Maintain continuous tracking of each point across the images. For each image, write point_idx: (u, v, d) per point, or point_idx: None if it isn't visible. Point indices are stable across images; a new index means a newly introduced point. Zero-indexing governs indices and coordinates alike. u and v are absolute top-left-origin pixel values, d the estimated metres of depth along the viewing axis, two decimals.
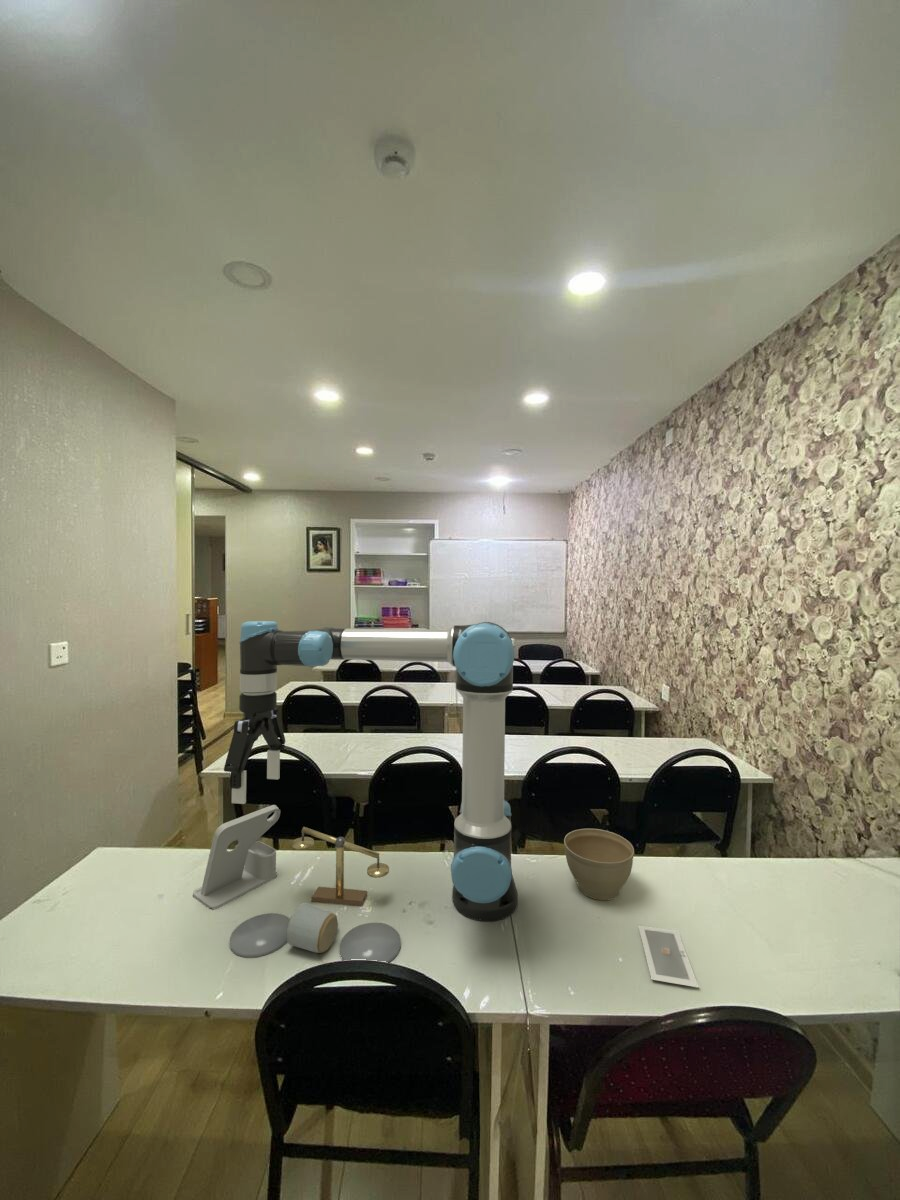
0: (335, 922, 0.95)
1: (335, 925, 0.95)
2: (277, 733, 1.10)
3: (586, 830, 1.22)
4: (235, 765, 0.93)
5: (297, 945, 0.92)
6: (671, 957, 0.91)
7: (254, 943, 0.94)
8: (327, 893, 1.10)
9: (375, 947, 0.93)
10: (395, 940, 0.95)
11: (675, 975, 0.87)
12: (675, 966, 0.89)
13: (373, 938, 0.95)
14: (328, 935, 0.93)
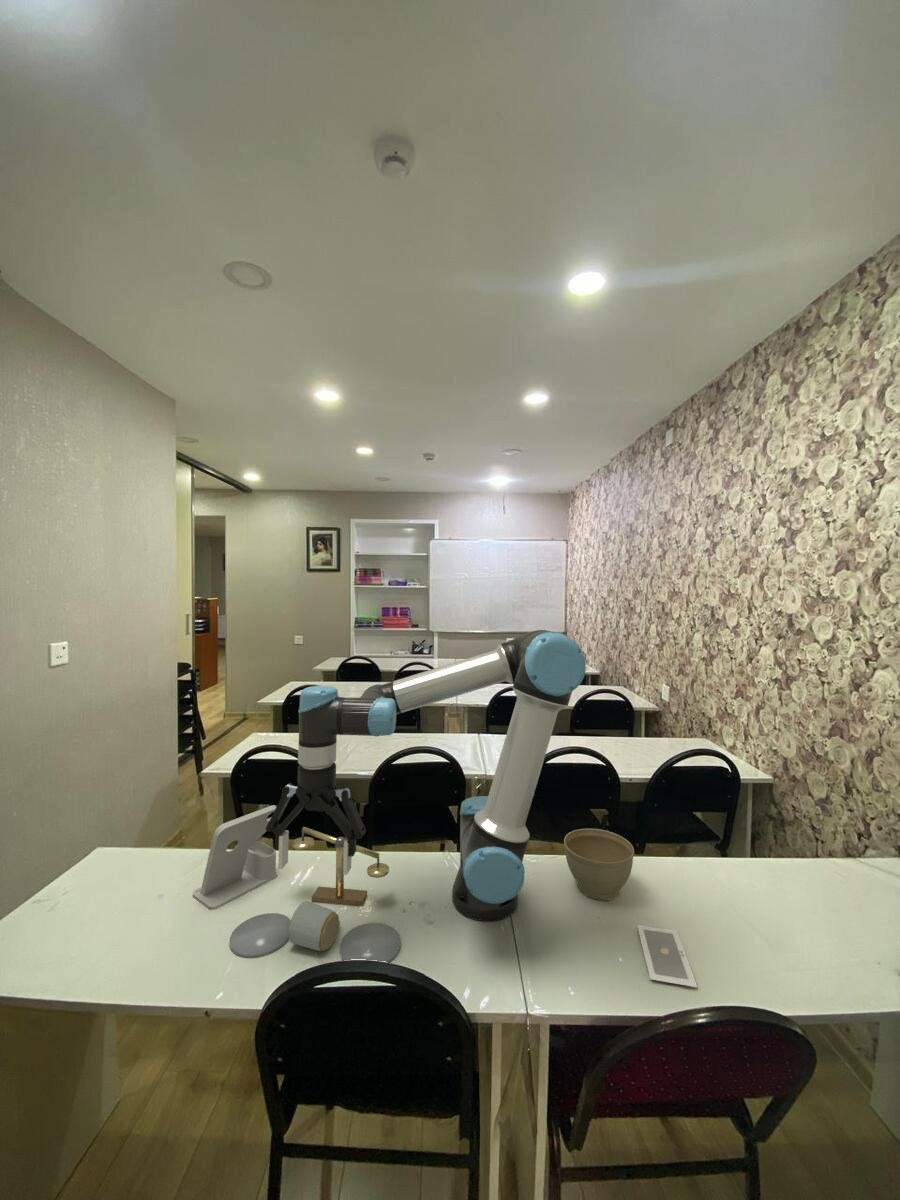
0: (337, 920, 0.96)
1: (337, 923, 0.96)
2: None
3: (586, 830, 1.22)
4: None
5: (299, 944, 0.93)
6: (670, 957, 0.91)
7: (254, 943, 0.94)
8: (327, 893, 1.10)
9: (375, 947, 0.93)
10: (395, 940, 0.95)
11: (674, 975, 0.87)
12: (674, 966, 0.89)
13: (373, 938, 0.95)
14: (330, 934, 0.94)
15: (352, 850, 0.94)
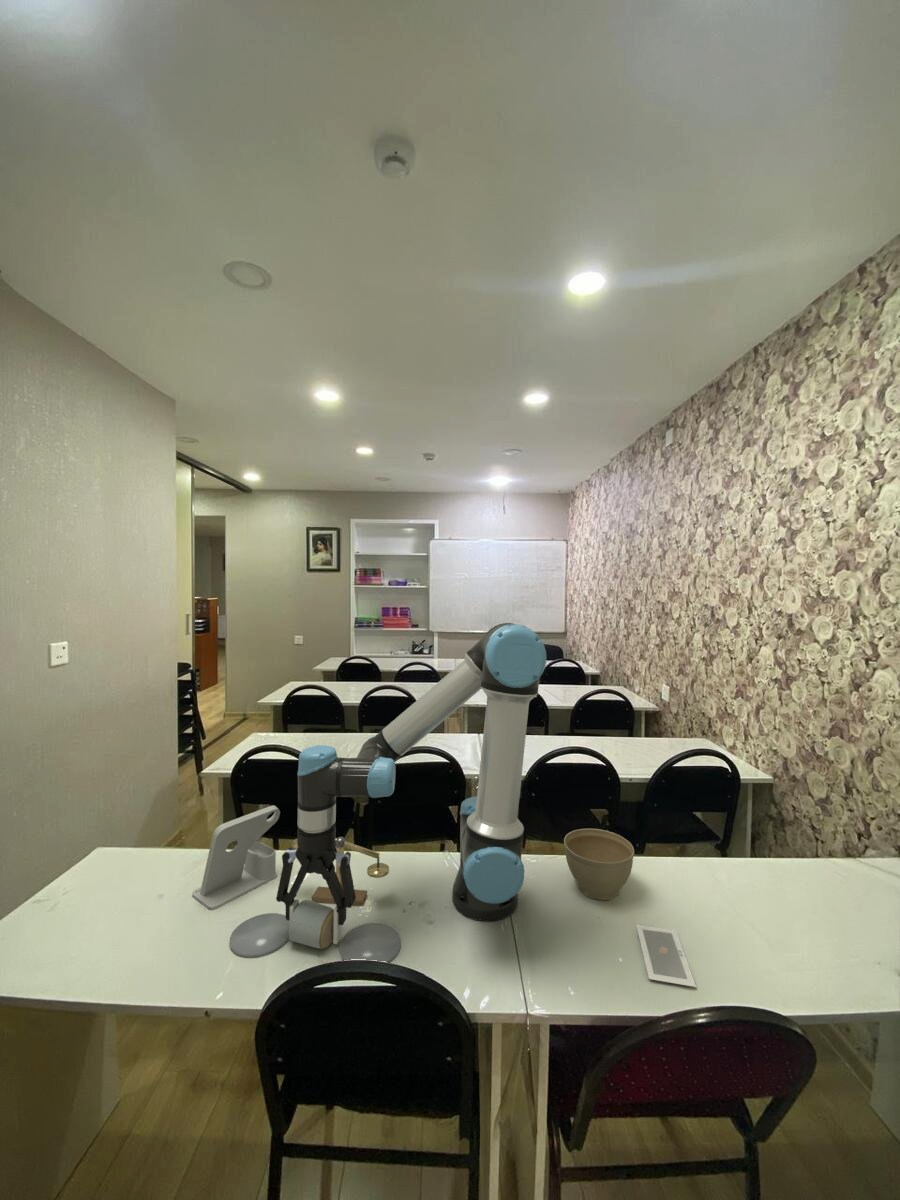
0: None
1: None
2: None
3: (586, 830, 1.22)
4: None
5: (299, 942, 0.93)
6: (669, 957, 0.91)
7: (254, 943, 0.94)
8: (327, 893, 1.10)
9: (375, 947, 0.93)
10: (395, 940, 0.95)
11: (673, 975, 0.87)
12: (672, 965, 0.89)
13: (373, 938, 0.95)
14: (330, 931, 0.94)
15: (342, 919, 0.94)
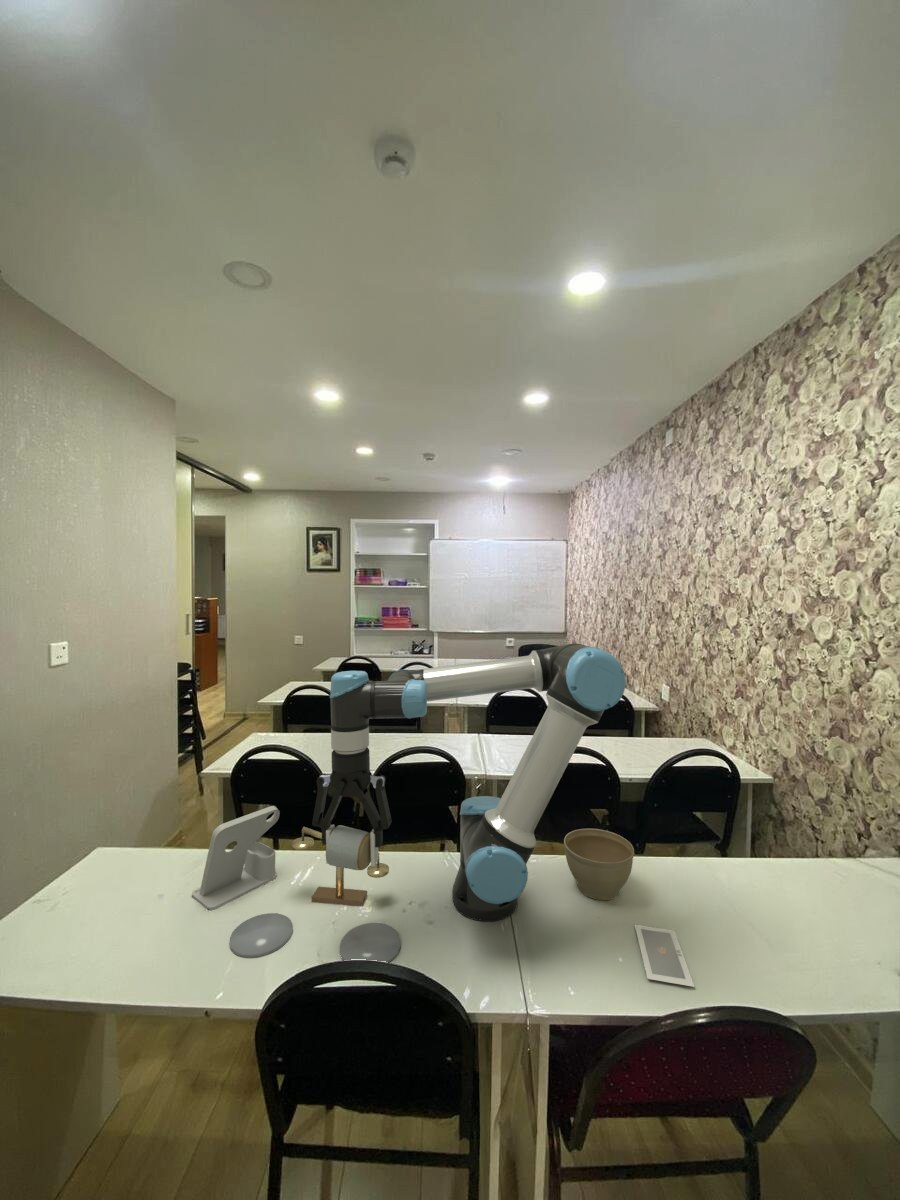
0: None
1: None
2: None
3: (586, 830, 1.22)
4: None
5: (337, 864, 0.93)
6: (667, 956, 0.91)
7: (254, 943, 0.94)
8: (327, 893, 1.10)
9: (375, 947, 0.93)
10: (395, 940, 0.95)
11: (671, 975, 0.87)
12: (671, 965, 0.89)
13: (373, 938, 0.95)
14: (367, 854, 0.93)
15: (379, 841, 0.94)
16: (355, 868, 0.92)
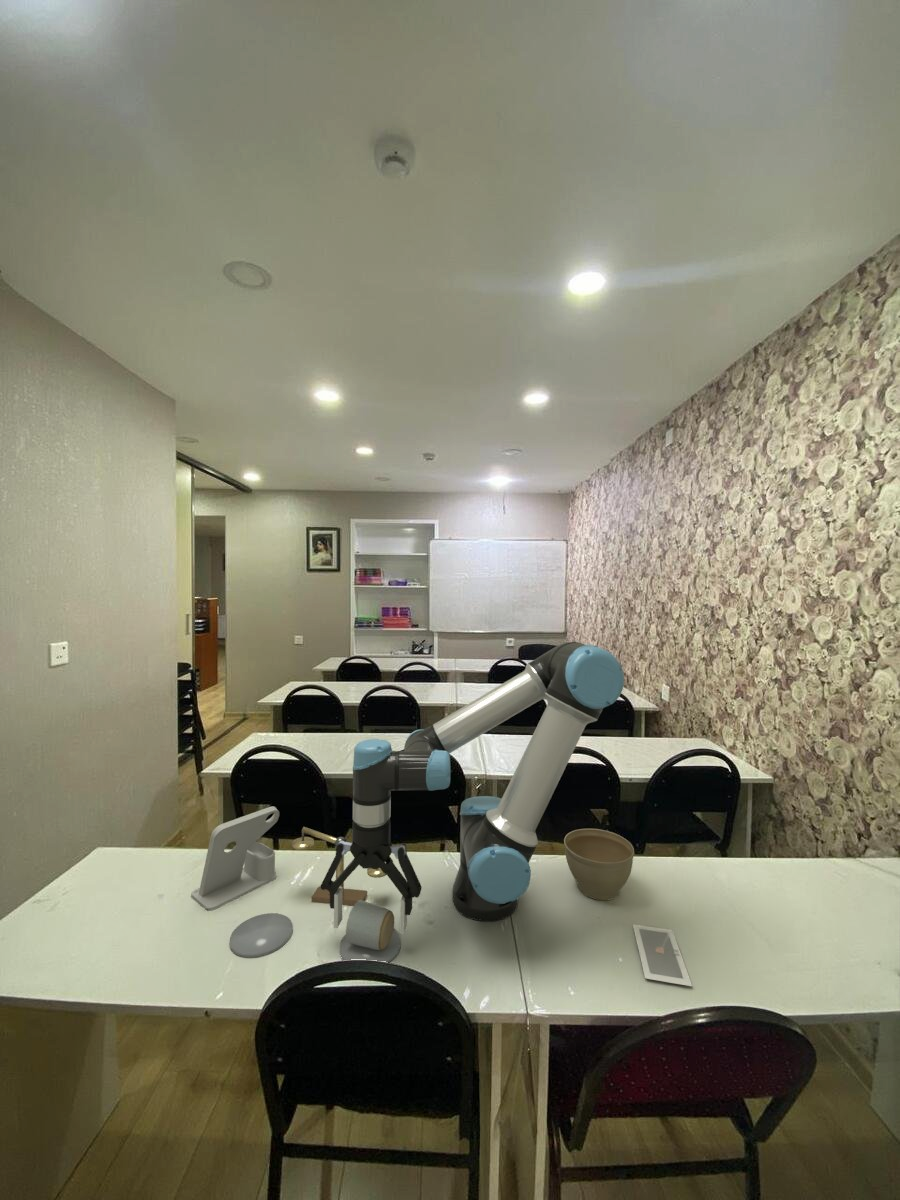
0: (393, 919, 0.95)
1: (392, 922, 0.95)
2: None
3: (586, 830, 1.22)
4: (322, 882, 0.95)
5: (357, 943, 0.92)
6: (665, 956, 0.92)
7: (254, 943, 0.94)
8: (327, 893, 1.10)
9: None
10: (395, 940, 0.95)
11: (669, 974, 0.87)
12: (669, 965, 0.89)
13: None
14: (387, 932, 0.93)
15: (409, 909, 0.93)
16: (376, 948, 0.91)
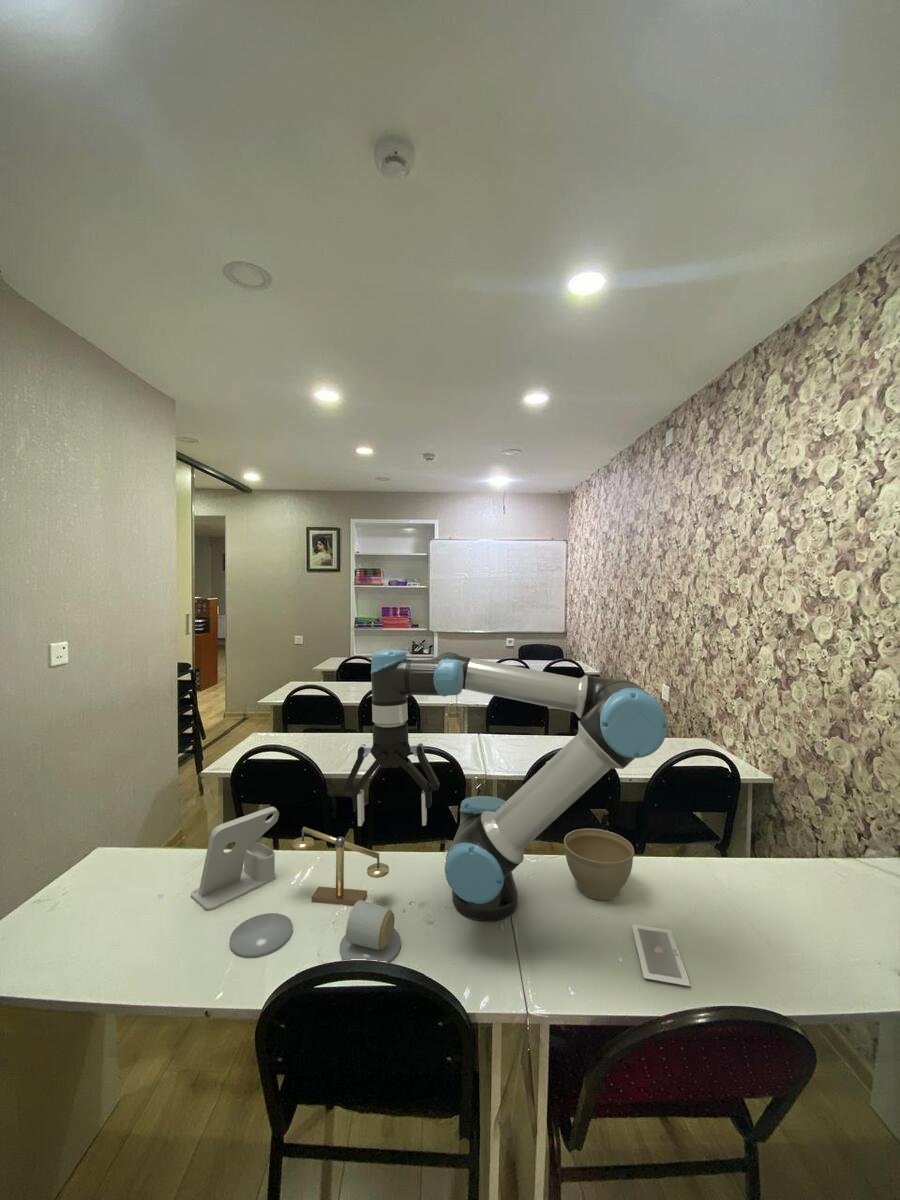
0: (393, 919, 0.95)
1: (393, 922, 0.95)
2: None
3: (586, 830, 1.22)
4: (345, 784, 1.00)
5: (357, 943, 0.92)
6: (664, 956, 0.92)
7: (254, 943, 0.94)
8: (327, 893, 1.10)
9: None
10: (395, 940, 0.95)
11: (667, 974, 0.87)
12: (667, 965, 0.89)
13: None
14: (387, 932, 0.93)
15: (429, 802, 0.99)
16: (376, 948, 0.91)
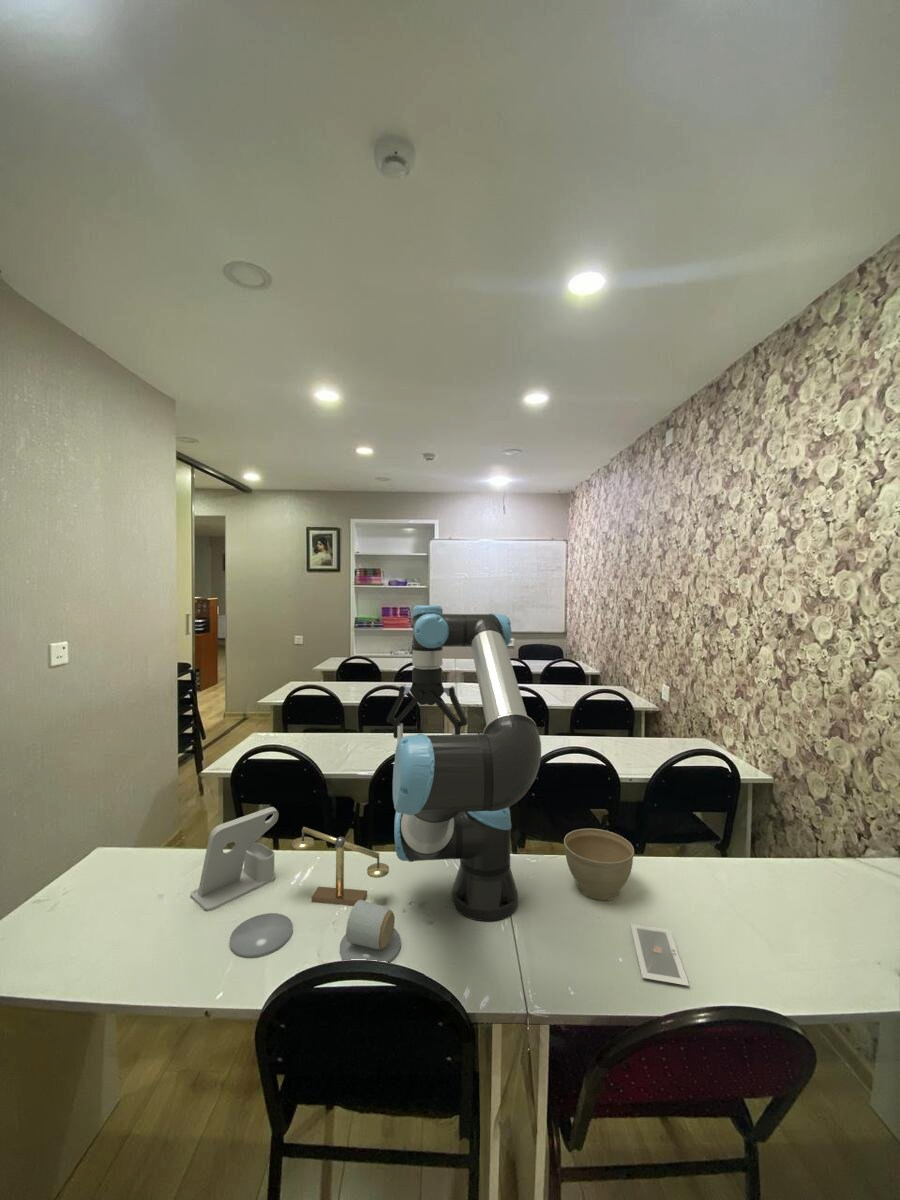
0: (393, 919, 0.95)
1: (393, 922, 0.95)
2: (457, 712, 1.16)
3: (586, 830, 1.22)
4: (387, 717, 1.18)
5: (357, 943, 0.92)
6: (662, 955, 0.92)
7: (254, 943, 0.94)
8: (327, 893, 1.10)
9: None
10: (395, 940, 0.95)
11: (666, 974, 0.87)
12: (666, 964, 0.89)
13: None
14: (388, 932, 0.93)
15: None
16: (376, 948, 0.91)
